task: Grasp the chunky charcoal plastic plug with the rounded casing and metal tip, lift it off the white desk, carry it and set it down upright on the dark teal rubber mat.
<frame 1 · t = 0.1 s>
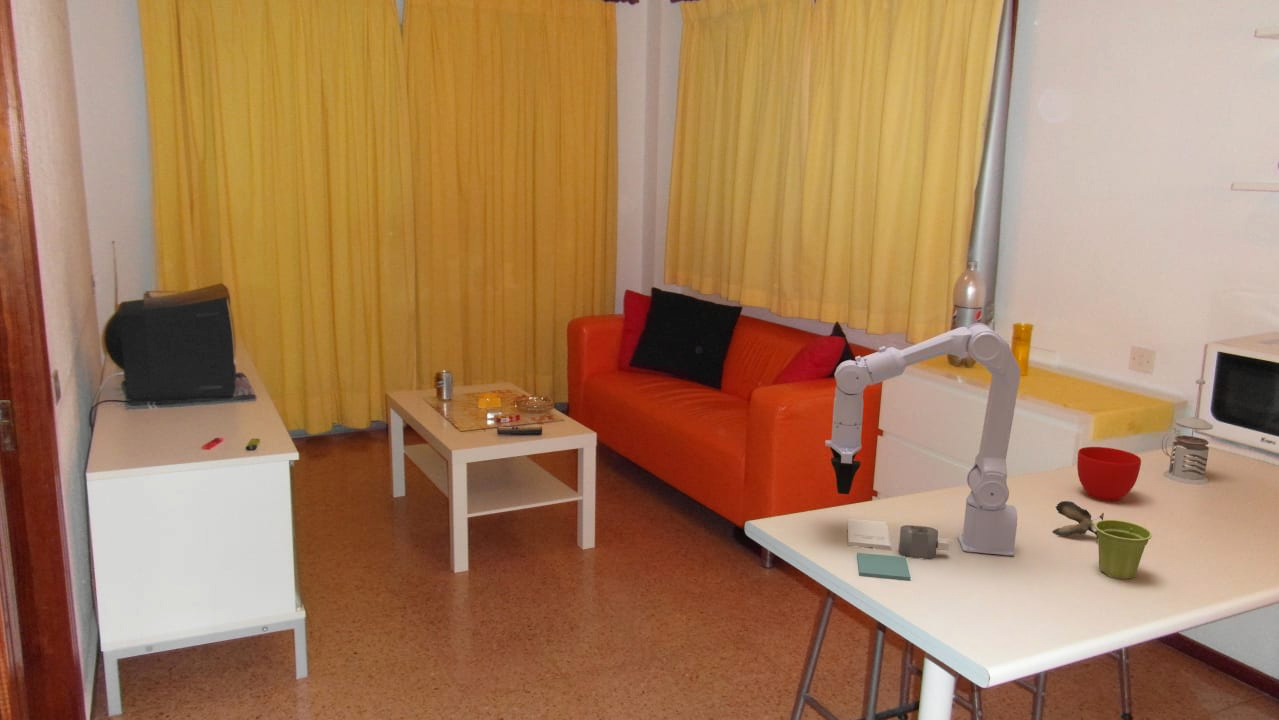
hand: (842, 486, 185), 10 cm above the table, tool pointing down, fingers open, 7 cm apart
french press: (1182, 478, 228), on the table
plug: (917, 554, 178), on the table
eagle figurine: (1077, 536, 190), on the table
external hard drive: (867, 539, 186), on the table
plant pot: (1116, 573, 172), on the table
red bowl: (1104, 495, 214), on the table
mat: (882, 567, 171), on the table
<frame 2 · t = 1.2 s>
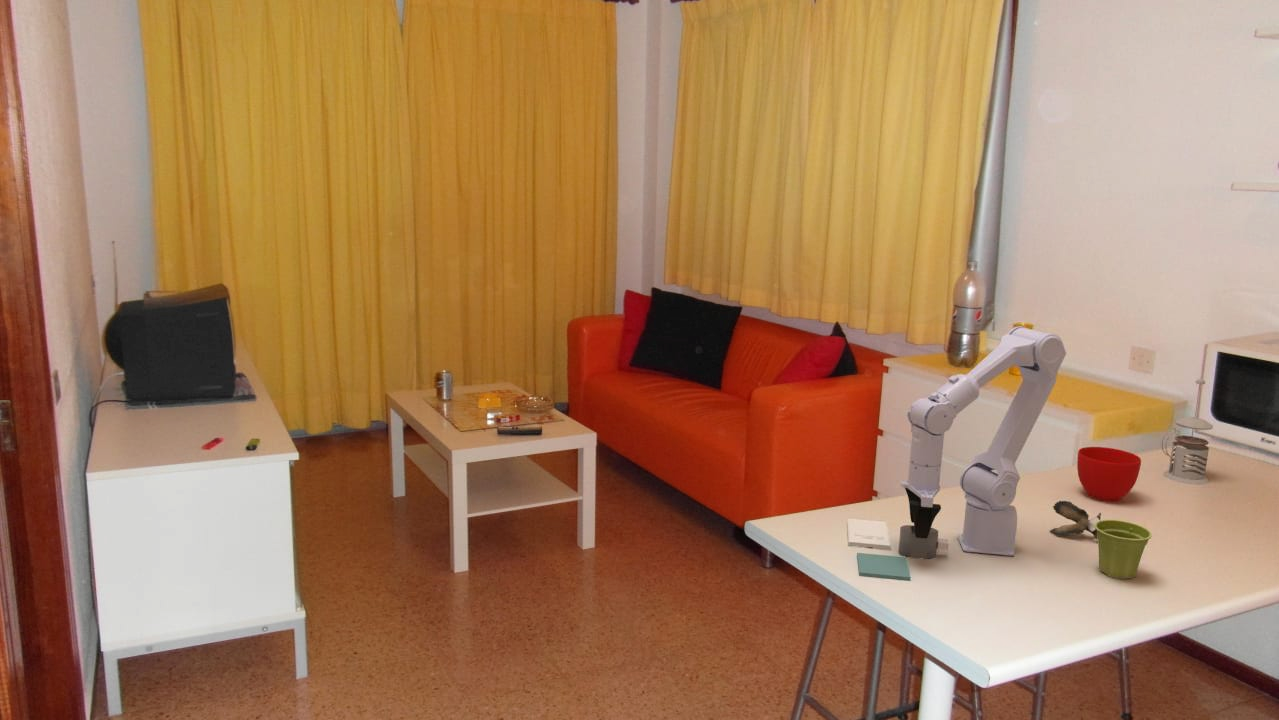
hand: (918, 529, 177), 5 cm above the table, tool pointing down, fingers open, 7 cm apart
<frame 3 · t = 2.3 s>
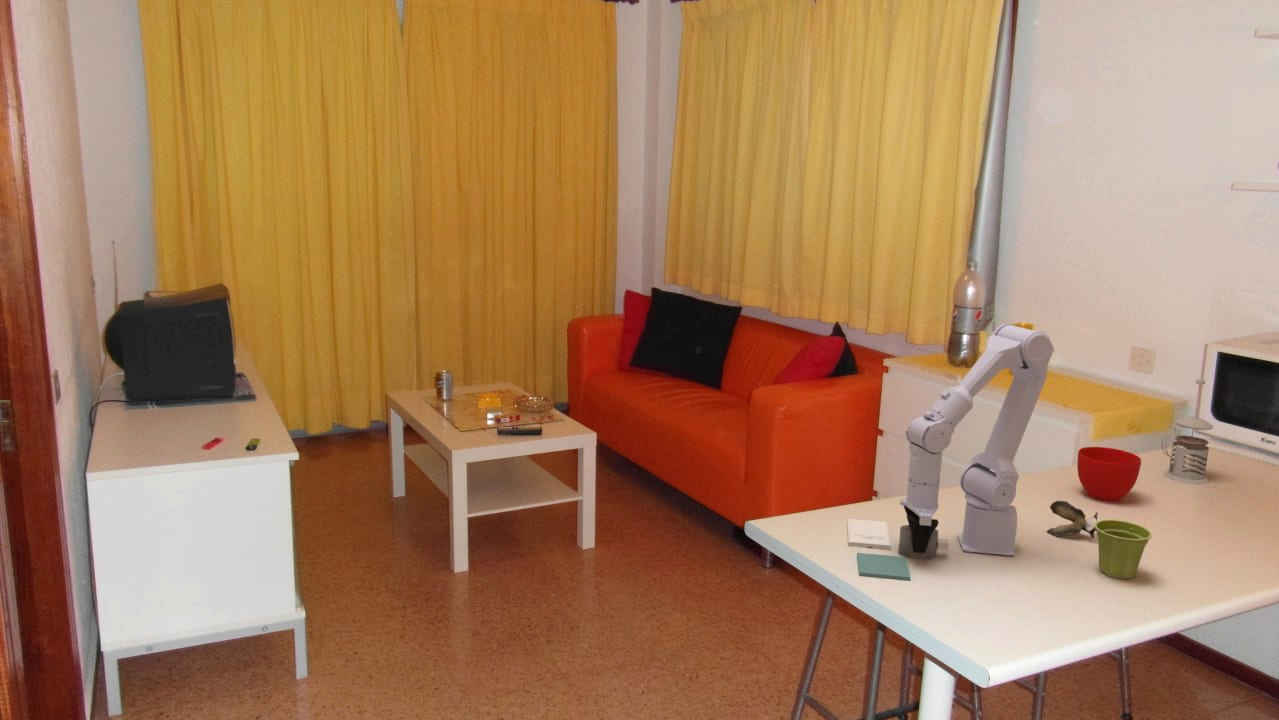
hand: (917, 547, 178), 1 cm above the table, tool pointing down, fingers closed on plug, 4 cm apart
plug: (917, 554, 178), on the table, touching gripper
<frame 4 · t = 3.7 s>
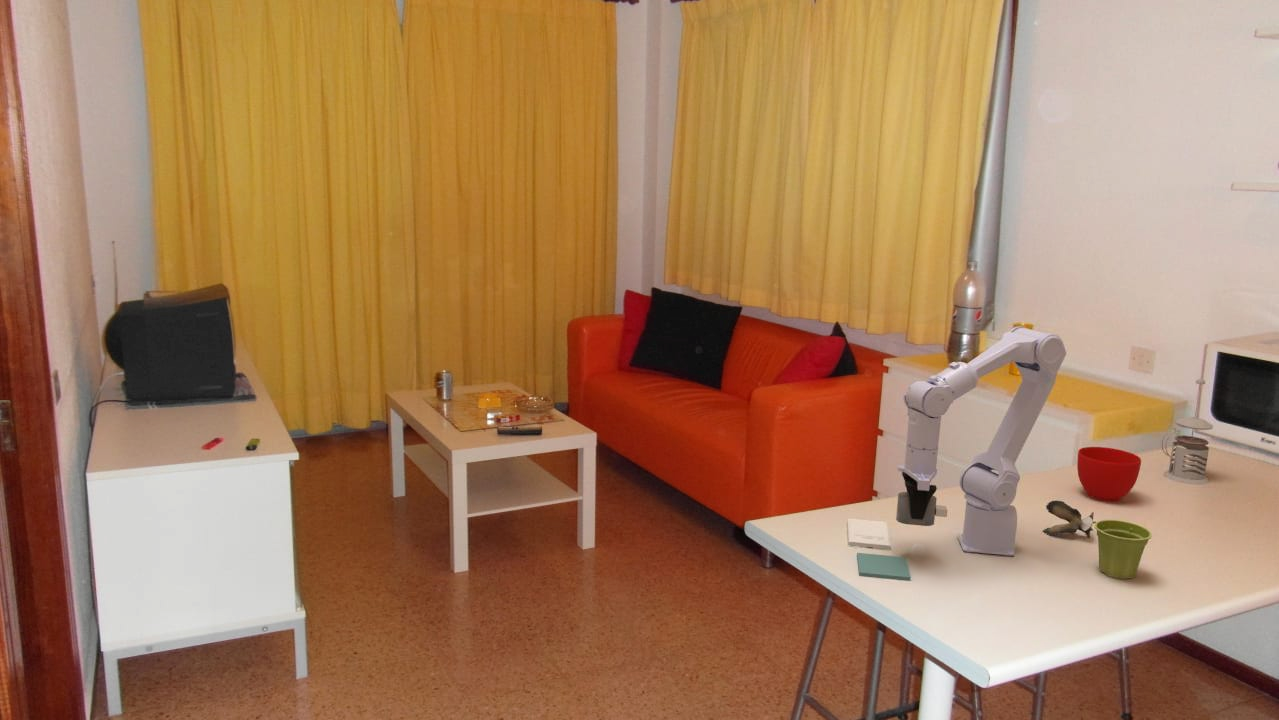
hand: (915, 514, 175), 8 cm above the table, tool pointing down, fingers closed on plug, 4 cm apart
plug: (914, 521, 176), point 7 cm above the table, touching gripper
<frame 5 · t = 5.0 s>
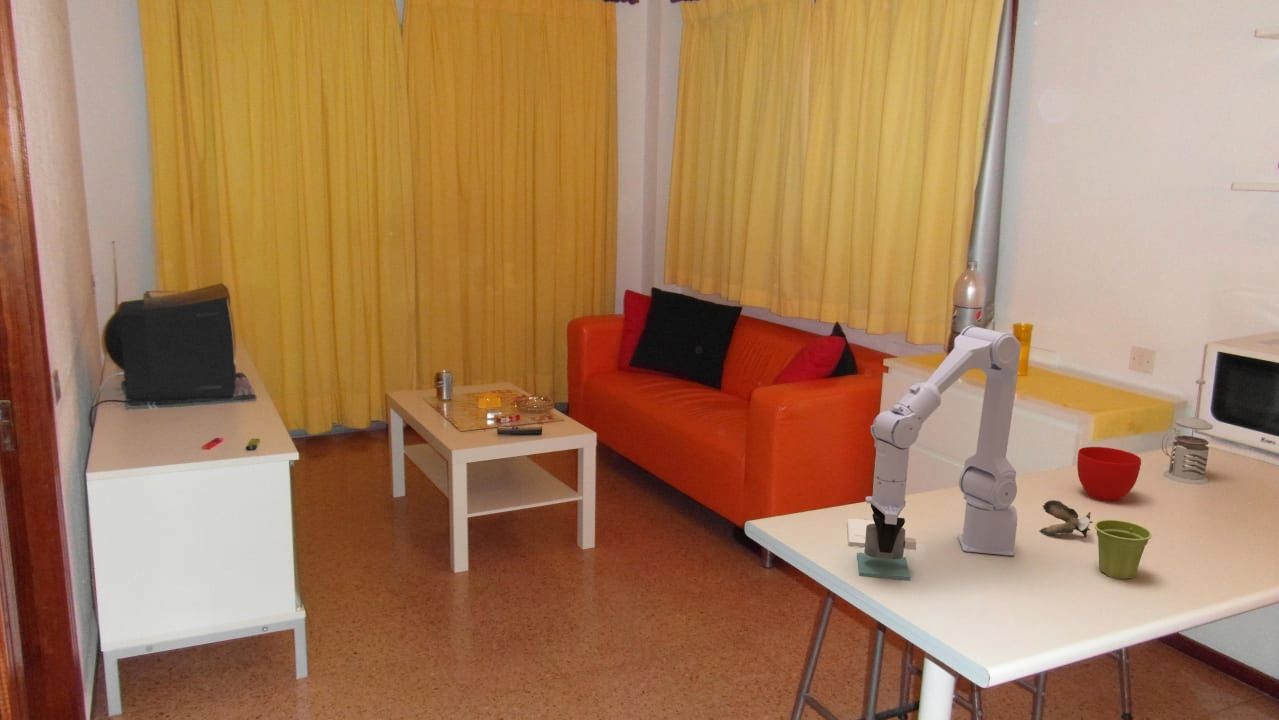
hand: (884, 546, 171), 4 cm above the table, tool pointing down, fingers closed on plug, 4 cm apart
plug: (883, 553, 171), point 3 cm above the table, touching gripper
when the fingers open (3 cm above the table, at t = 5.6 s): plug drops 1 cm, resting on mat.
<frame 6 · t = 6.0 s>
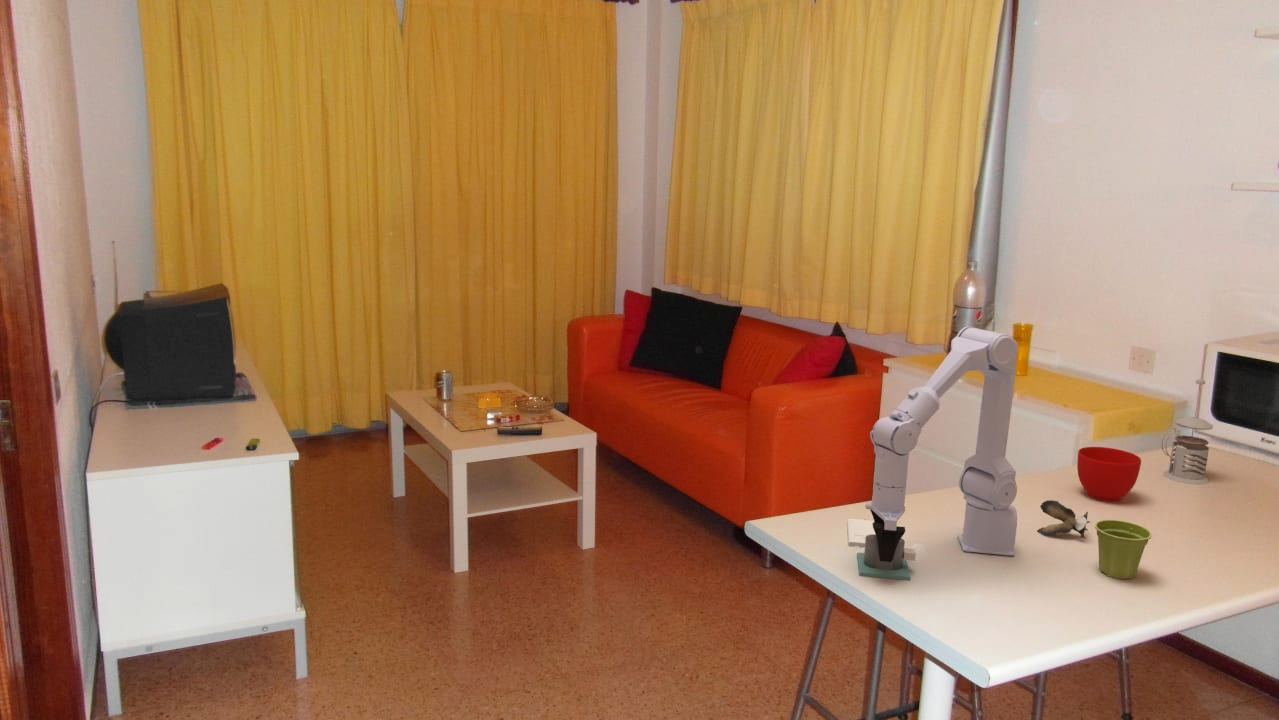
hand: (884, 552, 171), 3 cm above the table, tool pointing down, fingers open, 7 cm apart
plug: (882, 564, 171), point 1 cm above the table, touching mat
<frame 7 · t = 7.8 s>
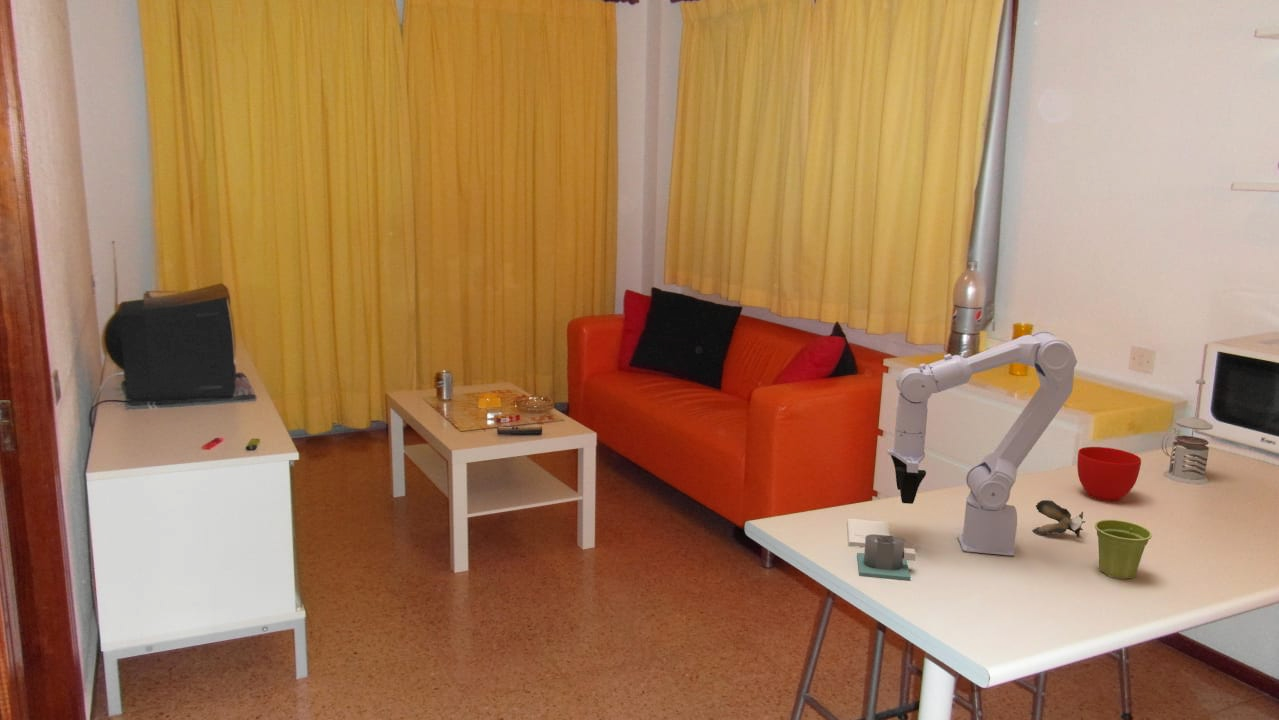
hand: (905, 496, 182), 9 cm above the table, tool pointing down, fingers open, 7 cm apart
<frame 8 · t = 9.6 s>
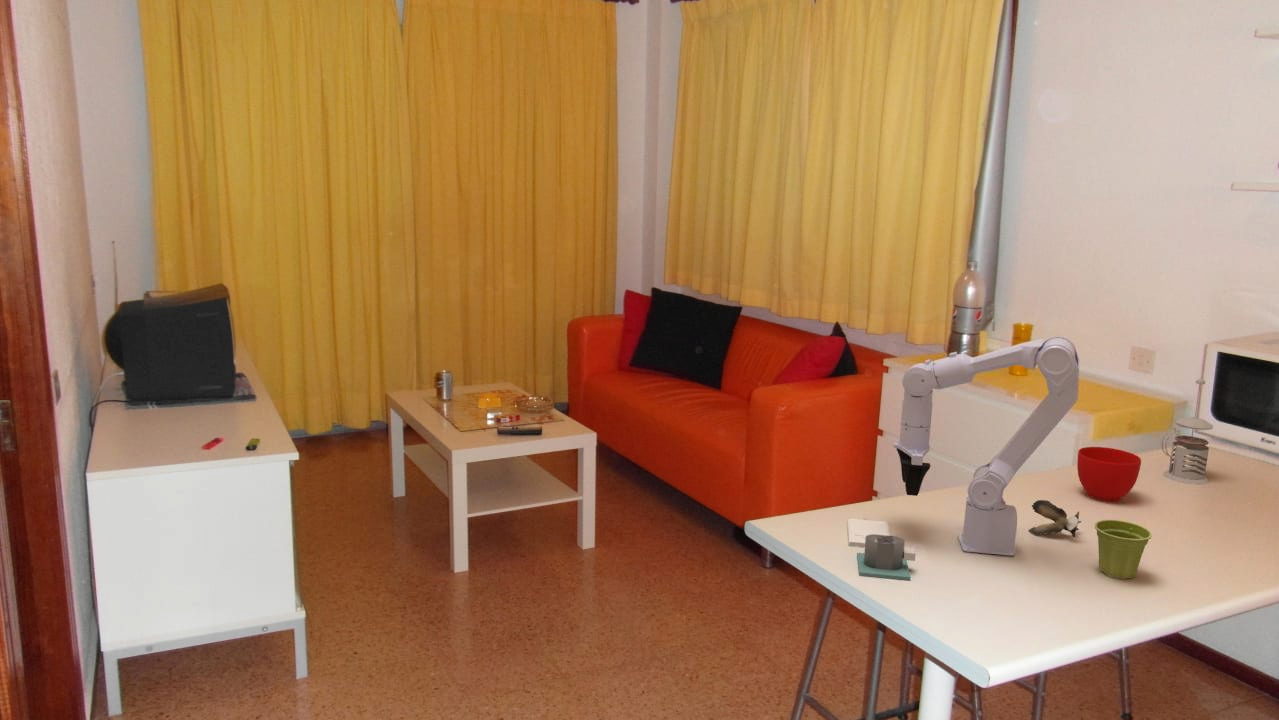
hand: (910, 488, 187), 9 cm above the table, tool pointing down, fingers open, 7 cm apart
at the end: plug inside the target area on the mat (0.0 cm from its centre), point 0.6 cm above the mat's base; plug tilted 0°; the gripper is holding nothing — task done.
